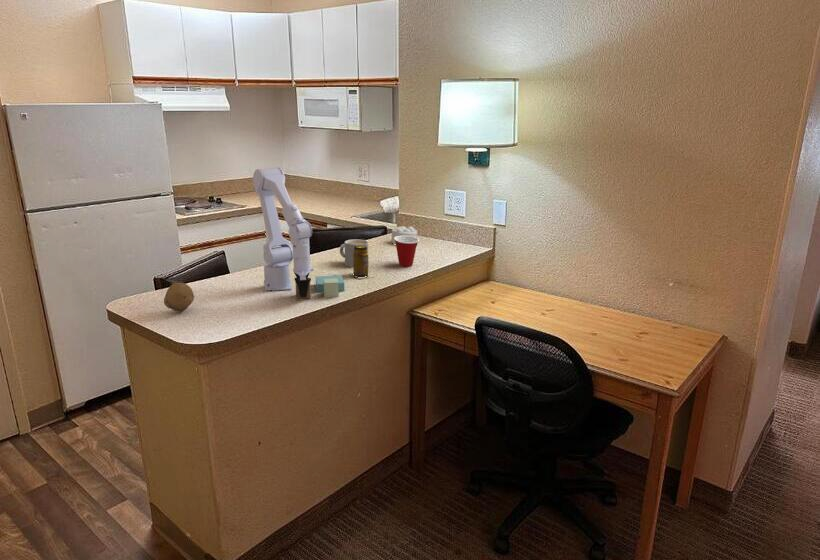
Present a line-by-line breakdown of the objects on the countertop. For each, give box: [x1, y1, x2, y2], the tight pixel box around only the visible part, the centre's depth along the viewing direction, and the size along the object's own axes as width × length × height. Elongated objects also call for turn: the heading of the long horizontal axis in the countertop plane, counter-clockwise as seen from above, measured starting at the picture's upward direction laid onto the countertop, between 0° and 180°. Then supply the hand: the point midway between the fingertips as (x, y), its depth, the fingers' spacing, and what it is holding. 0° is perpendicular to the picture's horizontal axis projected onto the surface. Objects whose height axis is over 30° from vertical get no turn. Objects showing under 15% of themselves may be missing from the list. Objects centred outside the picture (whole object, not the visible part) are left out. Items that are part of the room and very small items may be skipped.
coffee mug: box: [339, 238, 369, 268], centre depth 248 cm, size 13×10×10 cm
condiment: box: [349, 245, 375, 280], centre depth 231 cm, size 7×8×12 cm
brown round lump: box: [163, 282, 195, 312], centre depth 189 cm, size 9×9×10 cm
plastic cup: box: [394, 236, 420, 268], centre depth 246 cm, size 11×11×12 cm
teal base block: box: [315, 274, 345, 293], centre depth 217 cm, size 10×10×4 cm
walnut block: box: [294, 281, 312, 300], centre depth 205 cm, size 5×5×6 cm
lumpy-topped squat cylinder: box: [391, 225, 418, 244], centre depth 282 cm, size 10×13×9 cm
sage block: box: [323, 278, 340, 298], centre depth 208 cm, size 5×5×6 cm
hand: (303, 293), depth 206 cm, fingers open, 7 cm apart
